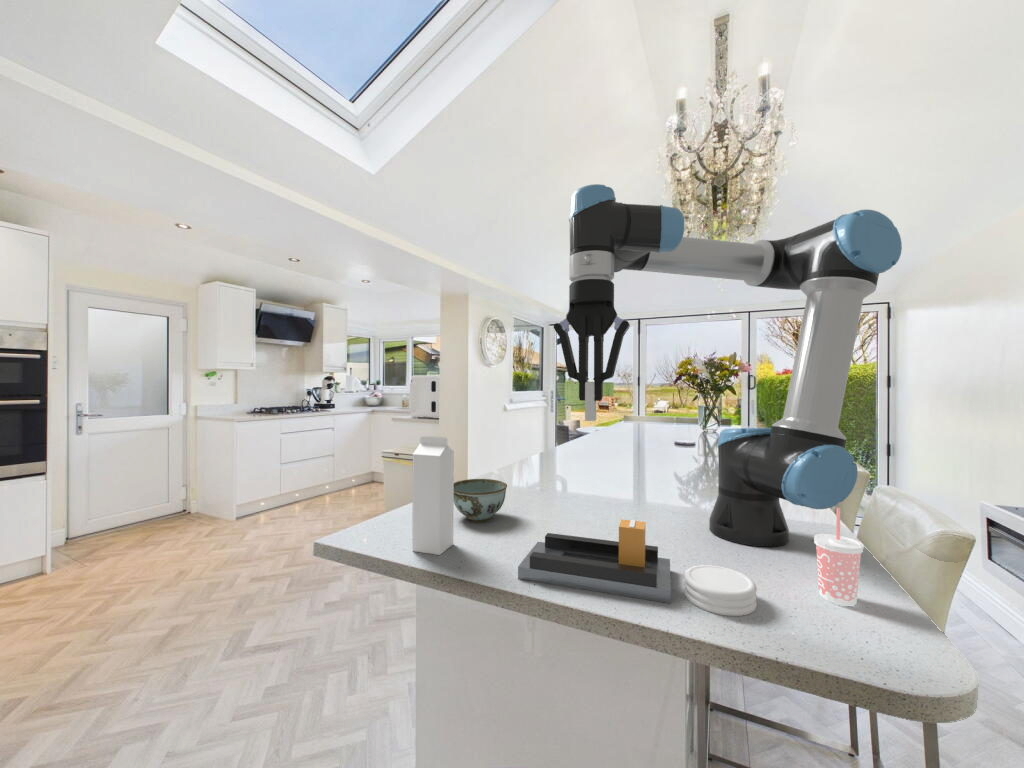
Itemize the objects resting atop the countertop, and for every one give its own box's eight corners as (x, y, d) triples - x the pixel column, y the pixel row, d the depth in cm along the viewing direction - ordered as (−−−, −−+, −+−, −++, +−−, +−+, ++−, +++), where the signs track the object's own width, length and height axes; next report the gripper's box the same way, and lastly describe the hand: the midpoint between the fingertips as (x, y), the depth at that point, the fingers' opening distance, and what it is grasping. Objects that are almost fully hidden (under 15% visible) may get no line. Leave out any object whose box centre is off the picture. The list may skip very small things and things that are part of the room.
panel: (669, 570, 77) (670, 547, 77) (670, 603, 65) (670, 576, 65) (537, 551, 85) (537, 531, 85) (517, 578, 73) (518, 554, 73)
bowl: (483, 506, 115) (483, 476, 115) (518, 518, 105) (518, 485, 105) (439, 517, 105) (439, 484, 105) (473, 532, 96) (473, 495, 95)
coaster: (765, 601, 67) (766, 578, 67) (742, 626, 60) (743, 601, 60) (699, 579, 74) (700, 558, 74) (672, 599, 67) (672, 577, 67)
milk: (427, 541, 90) (427, 434, 90) (454, 544, 88) (454, 435, 88) (411, 551, 85) (411, 437, 84) (439, 555, 83) (440, 438, 83)
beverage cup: (808, 586, 71) (809, 500, 71) (855, 594, 68) (856, 504, 68) (818, 604, 65) (819, 511, 65) (869, 613, 63) (870, 516, 63)
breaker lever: (645, 563, 74) (645, 521, 74) (644, 572, 70) (644, 528, 70) (620, 559, 76) (621, 518, 75) (618, 569, 72) (618, 525, 72)
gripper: (548, 280, 73) (548, 420, 74) (629, 274, 69) (628, 423, 69) (559, 288, 80) (558, 417, 81) (632, 283, 76) (631, 419, 76)
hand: (590, 420), depth 75 cm, fingers closed
